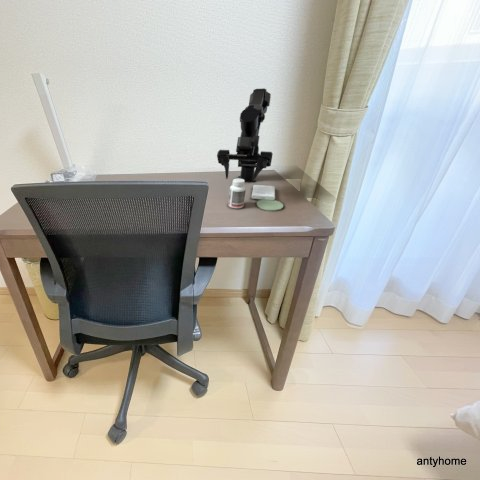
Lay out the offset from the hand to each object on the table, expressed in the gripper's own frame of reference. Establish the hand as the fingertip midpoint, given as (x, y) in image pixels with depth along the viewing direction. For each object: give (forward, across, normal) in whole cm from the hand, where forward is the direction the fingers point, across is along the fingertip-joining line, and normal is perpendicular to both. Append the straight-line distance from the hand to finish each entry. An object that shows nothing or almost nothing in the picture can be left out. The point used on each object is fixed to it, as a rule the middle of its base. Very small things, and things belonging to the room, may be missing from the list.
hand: (239, 179), depth 91 cm
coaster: (+6, +11, +8) cm, 15 cm away
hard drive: (-1, +8, +14) cm, 16 cm away
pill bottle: (+8, 0, +5) cm, 10 cm away
